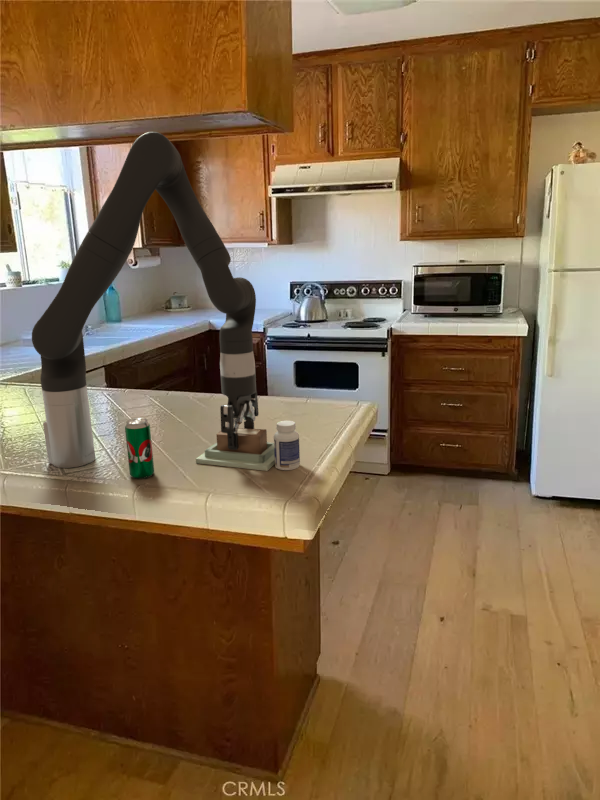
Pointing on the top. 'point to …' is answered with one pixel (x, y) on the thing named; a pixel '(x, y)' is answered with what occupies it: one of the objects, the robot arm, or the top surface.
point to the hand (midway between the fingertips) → (241, 443)
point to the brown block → (245, 441)
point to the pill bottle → (286, 446)
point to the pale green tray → (239, 458)
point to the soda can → (139, 448)
